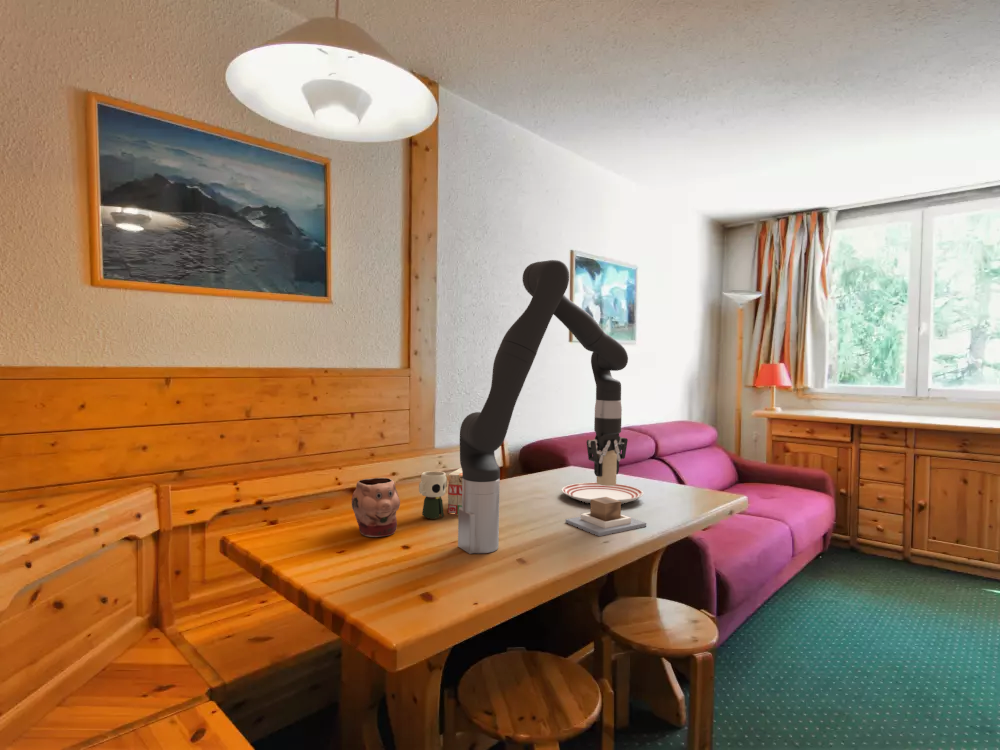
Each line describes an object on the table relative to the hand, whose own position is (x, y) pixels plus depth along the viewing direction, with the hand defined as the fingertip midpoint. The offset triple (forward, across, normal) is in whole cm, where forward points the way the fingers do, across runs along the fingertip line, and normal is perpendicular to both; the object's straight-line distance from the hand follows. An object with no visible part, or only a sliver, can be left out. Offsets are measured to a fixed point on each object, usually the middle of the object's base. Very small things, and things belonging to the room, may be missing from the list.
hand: (606, 474), depth 155 cm
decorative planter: (+14, -59, +26) cm, 66 cm away
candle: (+3, 0, 0) cm, 3 cm away
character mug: (+14, -40, +30) cm, 52 cm away
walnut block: (+13, 0, 0) cm, 13 cm away
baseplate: (+14, 0, 0) cm, 14 cm away
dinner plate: (+15, +20, +23) cm, 34 cm away
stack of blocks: (+15, -24, +36) cm, 46 cm away
